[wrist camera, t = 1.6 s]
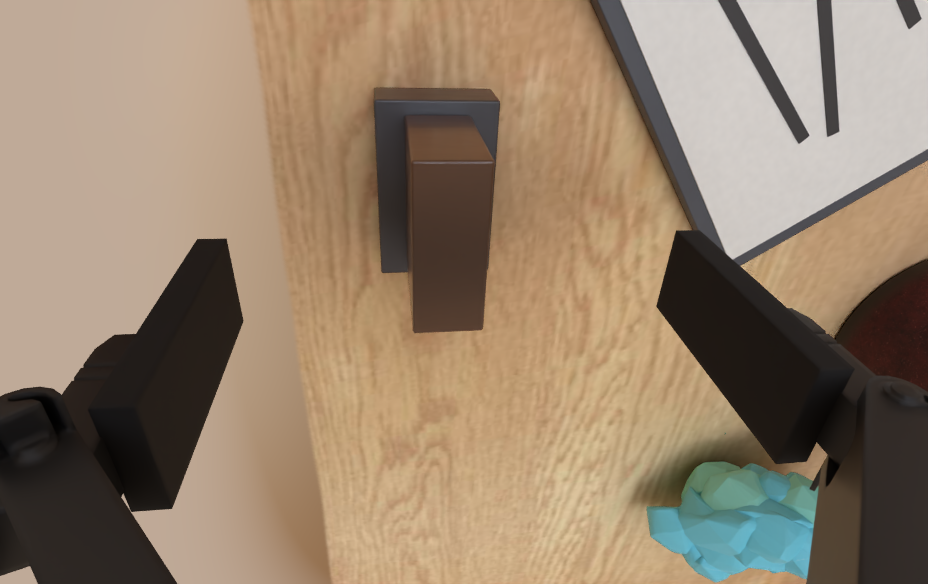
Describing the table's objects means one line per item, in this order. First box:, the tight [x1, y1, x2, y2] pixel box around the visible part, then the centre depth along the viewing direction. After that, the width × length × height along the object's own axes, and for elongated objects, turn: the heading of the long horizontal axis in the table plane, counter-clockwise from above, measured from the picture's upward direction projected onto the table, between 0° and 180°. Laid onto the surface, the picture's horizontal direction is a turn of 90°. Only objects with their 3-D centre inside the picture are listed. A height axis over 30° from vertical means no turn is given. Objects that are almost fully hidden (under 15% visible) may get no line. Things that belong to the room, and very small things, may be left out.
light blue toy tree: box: [647, 433, 819, 582], centre depth 36 cm, size 11×9×15 cm
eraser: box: [374, 88, 500, 333], centre depth 20 cm, size 7×4×7 cm, turn 178°
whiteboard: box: [590, 0, 928, 266], centre depth 21 cm, size 18×14×1 cm
